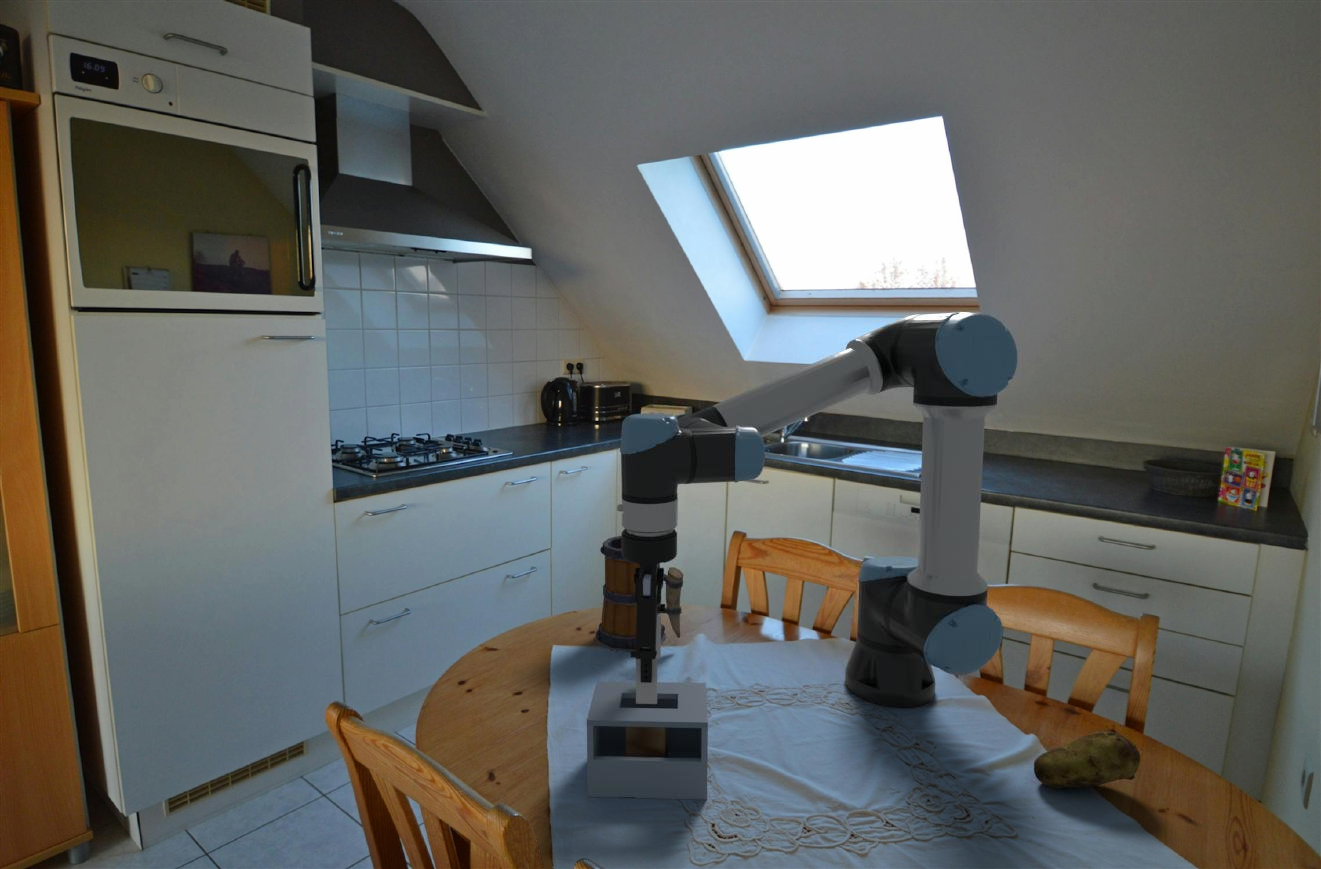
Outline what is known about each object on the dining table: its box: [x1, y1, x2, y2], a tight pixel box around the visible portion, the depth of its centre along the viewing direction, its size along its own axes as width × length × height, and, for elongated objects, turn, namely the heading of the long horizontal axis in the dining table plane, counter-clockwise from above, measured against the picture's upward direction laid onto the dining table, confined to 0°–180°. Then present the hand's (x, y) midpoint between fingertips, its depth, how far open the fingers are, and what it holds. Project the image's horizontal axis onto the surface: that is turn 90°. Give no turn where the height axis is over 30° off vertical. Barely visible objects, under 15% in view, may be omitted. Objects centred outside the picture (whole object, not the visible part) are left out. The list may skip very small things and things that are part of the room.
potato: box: [1033, 729, 1141, 789], centre depth 101 cm, size 8×13×8 cm, turn 68°
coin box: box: [586, 680, 709, 800], centre depth 103 cm, size 16×11×11 cm
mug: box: [595, 535, 684, 654], centre depth 148 cm, size 19×14×20 cm
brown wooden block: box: [626, 727, 668, 758], centre depth 104 cm, size 6×3×8 cm, turn 80°
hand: (649, 678), depth 102 cm, fingers open, 13 cm apart
